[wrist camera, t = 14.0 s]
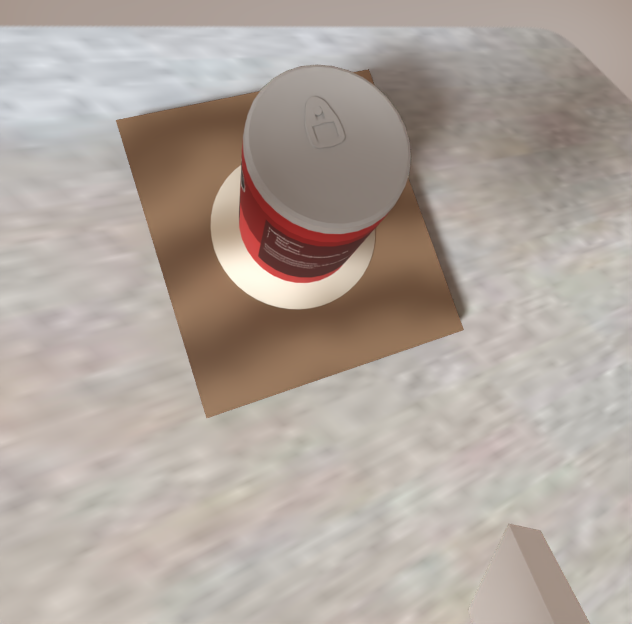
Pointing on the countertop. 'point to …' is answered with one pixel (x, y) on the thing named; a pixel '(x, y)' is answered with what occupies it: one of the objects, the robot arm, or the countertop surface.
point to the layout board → (260, 286)
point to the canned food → (318, 170)
